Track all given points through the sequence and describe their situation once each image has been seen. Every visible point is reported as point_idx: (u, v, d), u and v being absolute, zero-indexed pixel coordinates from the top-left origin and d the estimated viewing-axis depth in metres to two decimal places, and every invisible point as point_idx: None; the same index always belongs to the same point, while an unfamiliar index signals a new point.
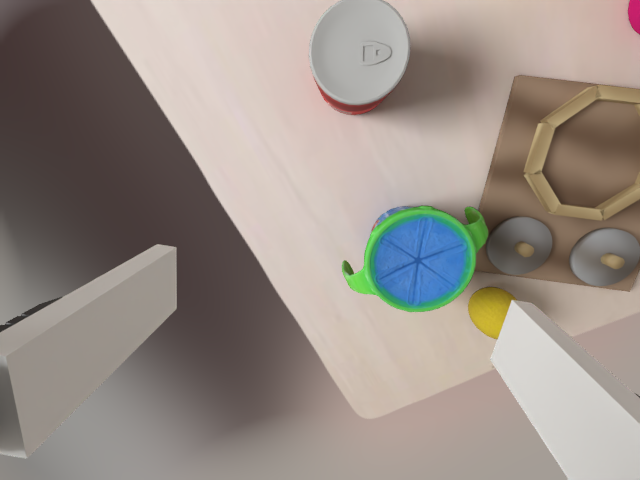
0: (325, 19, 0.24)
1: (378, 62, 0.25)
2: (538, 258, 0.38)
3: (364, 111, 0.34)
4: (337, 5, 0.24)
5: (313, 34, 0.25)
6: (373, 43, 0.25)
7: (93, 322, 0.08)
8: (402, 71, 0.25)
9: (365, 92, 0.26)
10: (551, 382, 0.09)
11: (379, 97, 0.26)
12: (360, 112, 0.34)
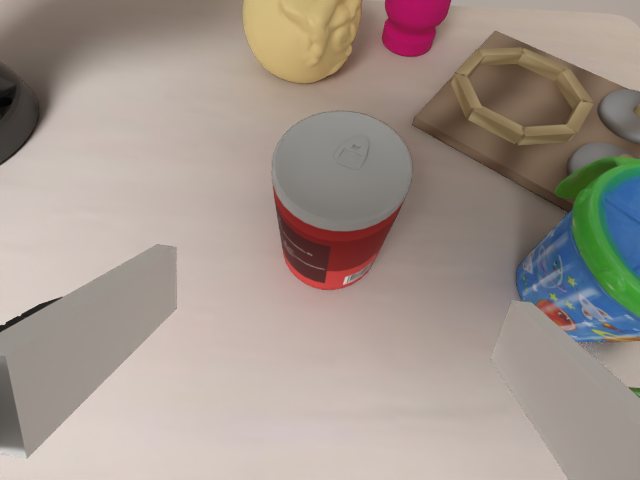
0: (280, 176, 0.17)
1: (367, 152, 0.18)
2: None
3: None
4: (276, 157, 0.17)
5: (286, 197, 0.16)
6: (342, 147, 0.18)
7: (93, 322, 0.08)
8: (394, 132, 0.18)
9: (395, 179, 0.17)
10: (551, 382, 0.09)
11: (411, 167, 0.17)
12: None
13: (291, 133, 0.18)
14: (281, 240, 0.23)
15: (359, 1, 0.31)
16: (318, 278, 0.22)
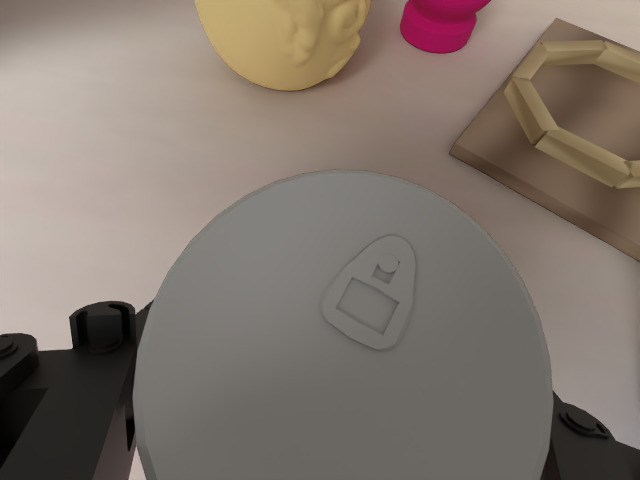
0: (156, 395, 0.05)
1: (414, 290, 0.07)
2: None
3: None
4: (155, 321, 0.06)
5: None
6: (345, 272, 0.07)
7: None
8: (481, 232, 0.07)
9: (501, 391, 0.06)
10: None
11: (542, 347, 0.06)
12: None
13: (211, 237, 0.07)
14: None
15: None
16: None
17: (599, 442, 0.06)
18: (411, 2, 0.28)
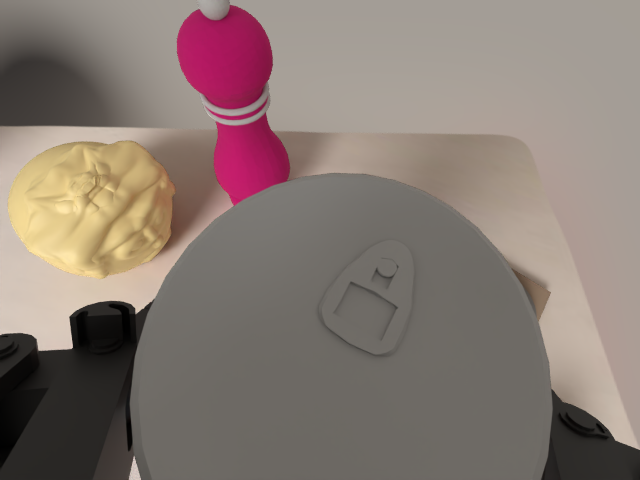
0: (153, 401, 0.05)
1: (413, 294, 0.07)
2: None
3: None
4: (153, 326, 0.06)
5: None
6: (344, 277, 0.07)
7: None
8: (480, 237, 0.07)
9: (500, 397, 0.06)
10: None
11: (542, 353, 0.06)
12: None
13: (209, 241, 0.07)
14: None
15: (150, 205, 0.26)
16: None
17: (599, 442, 0.06)
18: None
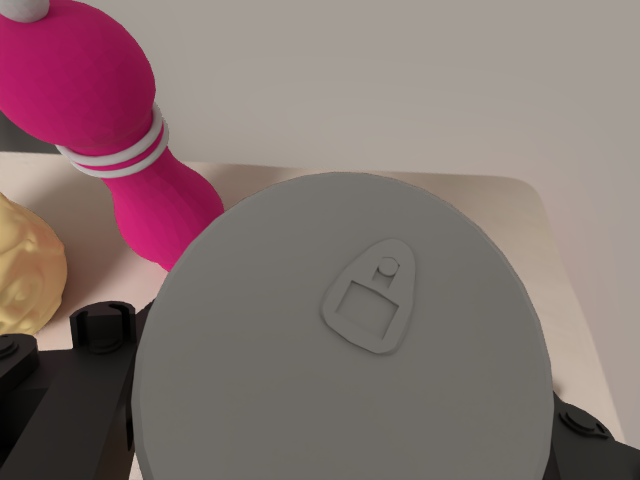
0: (154, 399, 0.05)
1: (414, 294, 0.07)
2: None
3: None
4: (154, 325, 0.06)
5: None
6: (345, 276, 0.07)
7: None
8: (481, 235, 0.07)
9: (502, 395, 0.06)
10: None
11: (543, 351, 0.06)
12: None
13: (210, 240, 0.07)
14: None
15: (1, 279, 0.18)
16: None
17: (599, 442, 0.06)
18: None
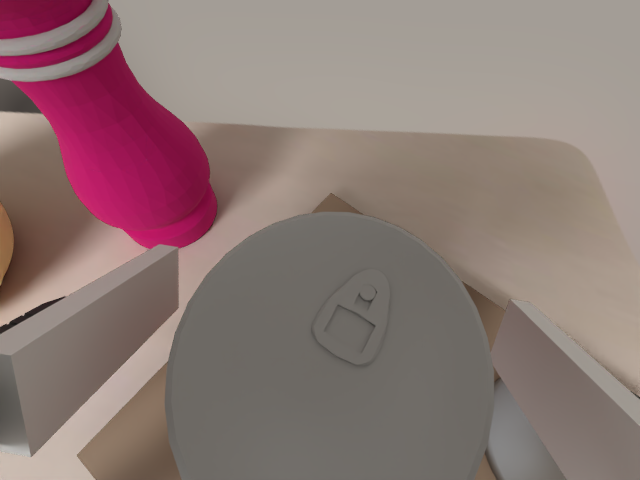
0: (182, 403, 0.07)
1: (388, 315, 0.08)
2: None
3: None
4: (180, 343, 0.07)
5: (187, 477, 0.06)
6: (332, 300, 0.08)
7: (96, 321, 0.08)
8: (444, 266, 0.09)
9: (454, 398, 0.07)
10: (548, 381, 0.09)
11: (489, 362, 0.08)
12: None
13: (223, 272, 0.08)
14: None
15: None
16: None
17: None
18: None
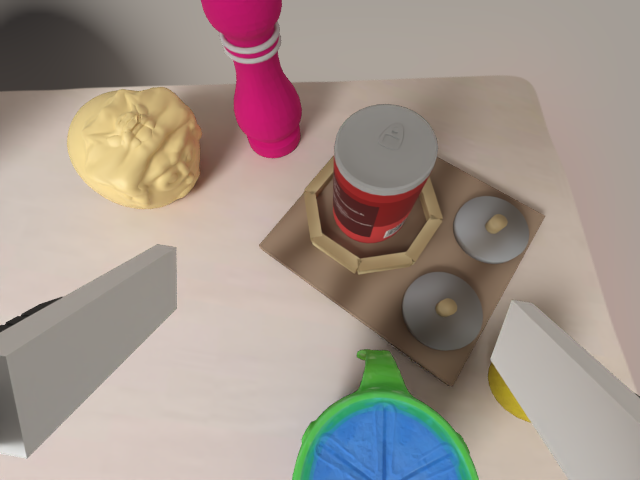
0: (342, 159, 0.23)
1: (403, 136, 0.24)
2: (466, 294, 0.29)
3: None
4: (337, 145, 0.24)
5: (348, 174, 0.23)
6: (383, 133, 0.24)
7: (93, 322, 0.08)
8: (422, 119, 0.24)
9: (425, 155, 0.23)
10: (551, 382, 0.09)
11: (436, 145, 0.24)
12: None
13: (346, 125, 0.24)
14: (335, 206, 0.30)
15: (182, 142, 0.30)
16: (365, 233, 0.30)
17: None
18: None
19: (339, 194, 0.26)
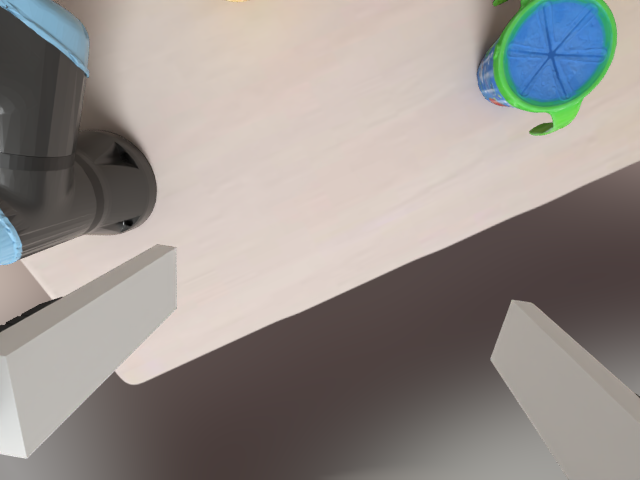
0: None
1: None
2: None
3: None
4: None
5: None
6: None
7: (93, 322, 0.08)
8: None
9: None
10: (551, 382, 0.09)
11: None
12: None
13: None
14: None
15: None
16: None
17: None
18: None
19: None
